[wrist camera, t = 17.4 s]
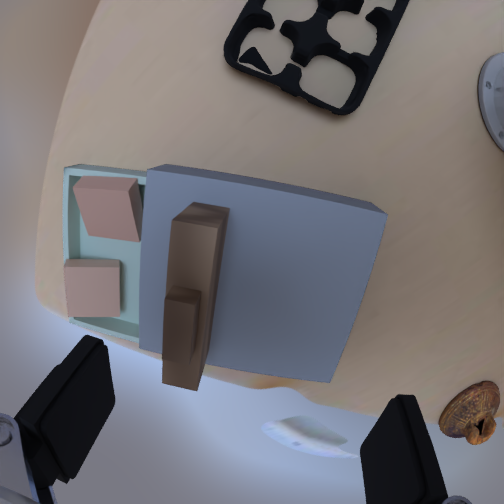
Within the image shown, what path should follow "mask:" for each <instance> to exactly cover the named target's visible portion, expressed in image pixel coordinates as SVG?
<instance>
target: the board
mask: <svg viewBox="0 0 504 504" xmlns="http://www.w3.org/2000/svg"><path fill="white" fill-rule="evenodd" d="M192 202H199V203H204V204H210V205H216V206H222V207H227V208H230V211H229V217H228V224H227V230H226V236H225V243H224V249H223V256H222V262H221V269H220V276H219V282H218V289H217V296H216V303H215V310H214V317H213V324H212V332H211V339H210V346H209V352H208V355H207V358H206V362H205V364H209V365H214V366H219V367H224V368H229V369H235V370H241V371H246V372H252V373H258V374H265V375H271V376H278V377H285V378H292V379H300V380H308V381H317V382H326V383H330V381H331V379H332V377H333V374H334V372H335V369H336V367H337V365H338V362H339V360H340V357H341V355H342V352H343V350H344V347H345V345H346V342H347V339H348V337H349V334H350V332H351V329H352V326H353V323H354V321H355V318H356V315H357V312H358V310H359V307H360V304H361V301H362V298H363V295H364V292H365V289H366V286H367V283H368V280H369V277H370V274H371V271H372V268H373V265H374V261H375V258H376V255H377V251H378V248H379V245H380V241H381V238H382V234H383V231H384V227H385V223H386V220H387V216H388V214H386V213H385V212H384V211H382V210H381V209H379V208H378V207H377V206H375V205H374V204H372V203H371V202H367V201H363V200H358V199H354V198H350V197H345V196H341V195H337V194H332V193H328V192H323V191H318V190H314V189H309V188H304V187H299V186H294V185H289V184H284V183H279V182H274V181H268V180H263V179H258V178H252V177H246V176H241V175H235V174H229V173H223V172H217V171H210V170H204V169H197V168H190V167H183V166H176V165H169V164H165V165H161V166H158V167H154V168H151V169H147V176H146V186H145V196H144V208H143V220H142V235H141V253H140V279H139V348H140V349H144V350H148V351H152V352H156V353H160V354H162V341H163V316H164V299H165V293H166V278H167V265H168V253H169V242H170V231H171V221H172V219H173V218H175V217H176V216H177V215H178V214H179V213H180V212H182V211H183V210H184V209H185V208H186V207H188V206H189V205H190V204H191V203H192Z"/></svg>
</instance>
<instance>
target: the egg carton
mask: <svg viewBox="0 0 504 504" xmlns="http://www.w3.org/2000/svg"><path fill="white" fill-rule="evenodd" d="M265 1H266V0H248V2H247V3H246V5H245V6H244V8H243V10H242V12H241V13H240V15H239V17H238V19H237V21H236V22H235V24H234V26H233V28H232V29H231V31H230V33H229V35H228V37H227V39H226V41H225V44H224V57H225V60H226V62H227V63H228V64H229V65H230V66H231V67H233V68H235V69H237V70H239V71H241V72H244V73H247V74H249V75H252V76H255V77H257V78H260V79H262V80H265V81H267V82H270V83H272V84H274V85H277V86H279V87H280V88H281V90H283V91H285V92H287V93H289V94H291V95H293V96H295V97H297V96H300V97H302V98H304V99H306V100H307V101H308V102H309V103H311V104H313V105H315V106H318V107H320V108H324V109H327V110H329V111H331V112H332V113H333V114H337V115H346V114H350V113H352V112H353V111H355V110H356V109H357V108H358V107H359V106H360V104H361V102H362V100H363V98H364V96H365V94H366V92H367V90H368V88H369V86H370V83H371V81H372V79H373V77H374V75H375V73H376V71H377V69H378V67H379V65H380V63H381V61H382V59H383V57H384V54H385V52H386V50H387V48H388V46H389V44H390V42H391V40H392V37H393V35H394V33H395V31H396V29H397V27H398V25H399V22H400V20H401V18H402V16H403V14H404V11H405V9H406V7H407V5H408V3H409V0H396V3H395V6H394V8H393V10H392V11H391V10H387V9H384V8H382V7H375V8H374V10H372V11H371V12H370V13H369V14H367V15H366V17H365V18H366V20H367V21H368V22H370V23H372V24H373V25H374V26H375V27H376V28H377V33H376V34H377V38H376V40H377V44H376V46H375V47H374V49H373V51H372V52H371V54H370V56H366V55H362V54H360V53H357V52H353V53H351V54H349V53H347V52H345V51H343V50H342V49H340V48H341V45H340V43H339V42H337V41H336V40H334V39H333V38H332V37H331V36H330V35H329V34H328V32H327V29H326V28H327V23H328V19H331V18H332V17H333V16H334V15H335V14H336V13H337V12H339V11H349V12H351V13H354V14H359V12H360V10H361V7H362V5H363V3H364V0H317V1H318V8H317V10H316V13H315V14H314V15H313V16H312V17H311V18H310V19H309V20H306V21H303V22H296V21H292V20H286V21H284V22H283V24H282V26H281V29H280V32H281V34H282V35H284V36H286V37H288V38H289V39H290V40H291V41H292V43H293V46H294V49H293V52H294V53H293V55H292V58H291V59H292V60H293V61H294V62H296V63H298V64H300V65H301V66H303V67H306V66H307V65H308V63H309V62H310V60H311V59H312V58H313V57H315V56H317V55H326V56H328V57H331V58H333V59H335V60H337V61H339V62H341V63H343V64H345V65H346V66H348V67H349V68H351V69H352V71H353V72H354V74H355V77H356V82H355V85H354V88H353V90H352V92H351V94H350V96H349V98H348V99H347V101H346V103H345V104H344V105H343V106H342V107H341V108H340V109H339V108H336V107H334V106H331V105H329V104H327V103H325V102H323V101H320V100H318V99H317V98H315V97H313V96H311V95H309V94H308V93H306V92H305V91H303V90H302V89H301V87H300V85H299V81H300V78H301V76H302V72H301V68H300V67H298V66H296V65H294V64H291V63H288V64H287V65H286V66H285V67H286V68H284V70H283V71H282V72H281V73H279V74H277V75H272V76H270V75H271V74H272V72H271V71H270V69H269V68H268V66H267V64H266V63H265V62H264V60H263V59H262V57H261V55H260V54H259V52H258V51H257V49H256V48H255V47H251V48H249V49H248V50H247V51H246V52H245V53H244V54H243V55H242V56H241V57H240V58H239V62H241V63H248V64H252V65H253V66H255V67H256V68H258V69H260V70H262V71H264V72H265V73H267V74H270V75H267V74H264V73H261V72H258V71H255V70H253V69H251V68H248V67H246V66H243V65H241V64H239V62H238V63H237V62H236V61H237V59H238V56H239V53H240V46H241V44H242V42H243V40H244V39H245V37H246V35H247V34H248V33H249V32H250V31H251V30H252V29H254V28H257V27H262V28H266V29H269V30H272V29H273V28H274V26H275V24H274V21H273V19H272V15H271V14H270V13H269V12H267V11H265V10H263V9H262V8H263V5H264V3H265Z"/></svg>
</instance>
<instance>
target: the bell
mask: <svg viewBox="0 0 504 504" xmlns="http://www.w3.org/2000/svg"><path fill="white" fill-rule="evenodd" d="M462 395H463V396H462ZM468 397H469V398H468ZM499 404H500V393H499V388H498V386H497V385H496V384H495V383H493V382H490V381H482V382H481V383H480V384H474V385H472V386H470V387H468V388H467V389H465V390H464V391H463V392H461V393H460V394H458V395H457V396H456V397H455V398H454V399H453V400H452V401H451V402H450V403H449V404H448V406H447V407H446V408H445V410H444V412H443V413H442V415H441V418H440V421H439V427H440V430H441V431H442V432H443V433H444V434H445V435H447V436H449V437H452V438H462V437H466V440H467V441H468V442H469V443H470V444H472V445H477V444H481V443H483V442H485V441H487V440H488V439H489V438H490V437H491V435H492V434H493V433H494V431H495V427H496V422H495V420H494V419H493V417H494V416H495V414H496V412H497V409H498V407H499ZM450 414H451V415H450Z"/></svg>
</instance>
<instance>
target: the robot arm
mask: <svg viewBox="0 0 504 504" xmlns="http://www.w3.org/2000/svg"><path fill="white" fill-rule="evenodd" d="M478 87H479V102H480V108H481V112H482V116H483V119H484V121H485V124H486V127H487V129H488V131H489V133H490V134H491V136H492V138H493V139H494V141H495V142H496V144H497V145H498V146H499V147H500V148H501V149H502V150H503V151H504V52H503V53H498V54H495V55H493V56H491V57H490V58H489V59H488V60H487V61H486V62H485V64H484V66H483V68H482V70H481V74H480V78H479V85H478ZM114 405H115V395H114V388H113V382H112V376H111V369H110V362H109V354H108V348H107V346H106V345H104V342H103V340H102V339H99V338H95V337H92V336H90V335H85V336H84V337H83V338H82V339H81V340H80V341H79V343H78V344H77V345H76V346H75V347H74V348H73V350H72V351H71V352H70V353H69V355H67V357H66V358H65V359H64V360H63V361H62V363H61V364H59V365H57V366H56V367H55V368H54V369H53V370H52V371H51V372H50V373H49V375H48V376H47V377H46V378H45V379H44V381H43V382H42V383H41V384H40V386H39V387H38V388H37V389H36V391H35V392H34V393H33V394H32V396H31V397H30V398H29V399H28V401H27V402H26V403H25V404H24V406H23V407H22V408H21V410H20V411H19V412H18V413H17V415H16V416H15V417H14V419H13V418H12V417H11V416H9V415H6V414H2V413H0V504H57V501H56V498H55V494H54V491H53V488H52V485H53V484H54V482H55V480H56V479H58V480H60V481H62V482H64V483H66V484H67V483H68V481H69V479H70V478H71V479H74V478H75V477H76V475H77V473H78V472H79V470H80V468H81V466H82V464H83V462H84V460H85V459H86V457H87V455H88V453H89V451H90V449H91V447H92V445H93V444H94V442H95V440H96V438H97V436H98V435H99V433H100V431H101V429H102V427H103V426H104V424H105V422H106V420H107V418H108V417H109V415H110V413H111V411H112V409H113V407H114ZM360 457H361V463H362V471H363V479H364V487H365V494H366V504H472V503H471V502H470V501H469V500H468V499H466V498H465V497H462V496H452V497H449V498H448V494H447V491H446V487H445V484H444V480H443V477H442V473H441V470H440V467H439V464H438V460H437V457H436V454H435V451H434V448H433V444H432V441H431V439H430V436H429V433H428V430H427V428H426V425H425V422H424V419H423V416H422V413H421V410H420V408H419V405H418V402H417V400H416V397H415V396H414V395H401V394H398V395H397V396H396V397H395V398H392V399H391V400H390V401H389V403H388V404H387V406H386V408H385V409H384V411H383V413H382V414H381V416H380V417H379V419H378V421H377V422H376V424H375V425H374V427H373V428H372V430H371V431H370V433H369V434H368V436H367V437H366V439H365V440H364V442H363V444H362V445H361V448H360Z"/></svg>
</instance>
